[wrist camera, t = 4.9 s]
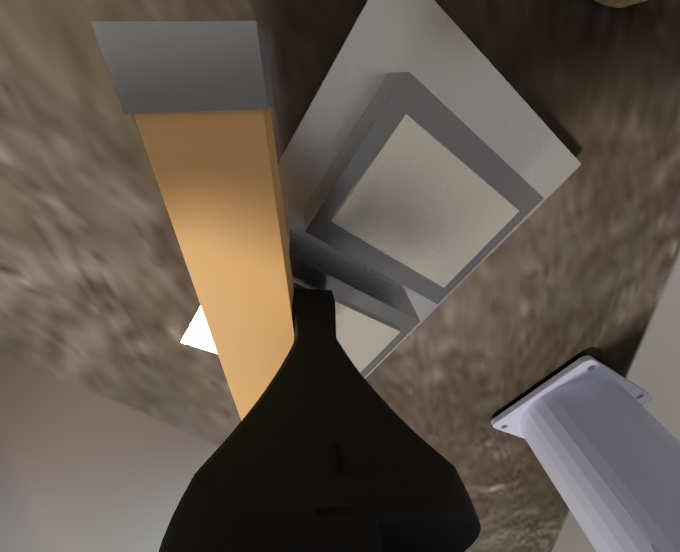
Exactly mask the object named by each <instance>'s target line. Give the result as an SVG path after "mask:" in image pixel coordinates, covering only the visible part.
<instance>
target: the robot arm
mask: <svg viewBox="0 0 680 552" xmlns="http://www.w3.org/2000/svg"><path fill="white" fill-rule="evenodd" d="M293 314H294V343H293V345H292V347H291V349H290V351H289V353H288V355H287V357H286V358H285V360H284V362H283V363H282V365H281V367H280V368H279V370H278V372H277V373H276V375H275V376H274V378H273V379H272V381H271V382H270V384H269V385H268V387H267V388H266V390H265V391H264V392H263V394H262V395H261V397H260V398H259V399H258V401H257V402H256V403H255V405H254V406H253V407H252V408H251V410H250V411H249V412H248V413H247V415H246V416H245V417H244V418H243V420H242V421H241V422H240V423H239V425H238V426H237V427H236V428H235V430H234V431H233V432H232V433H231V434H230V436H229V437H228V438H227V439H226V440H225V441H224V442H223V444H222V445H221V446H220V447H219V448H218V449H217V450H216V451H215V452H214V454H213V455H212V456H211V457H210V458H209V459H208V460H207V461H206V462H205V463H204V464H203V466H202V467H201V468H200V469H199V470H198V471H197V472H196V473H195V475H194V477H193V478H192V480H191V482H190V484H189V485H188V487H187V489H186V491H185V493H184V495H183V497H182V498H181V500H180V502H179V504H178V506H177V508H176V510H175V512H174V514H173V516H172V519H171V521H170V523H169V526H168V528H167V531H166V533H165V535H164V538H163V540H162V544H161V547H160V550H159V552H464V551H465V550H466V549H468V548H469V547H470V546H471V545H472V544H473V543H474V541H475V540H476V539H477V537H478V536H479V533H480V522H479V519H478V517H477V514H476V512H475V509H474V506H473V504H472V501H471V499H470V497H469V495H468V493H467V491H466V488H465V486H464V485H463V483H462V481H461V479H460V477H459V475H458V473H457V471H456V469H455V467H454V466H453V465H452V464H451V463H450V462H448V461H447V460H446V459H445V458H444V457H443V456H441V455H440V454H439V453H438V452H437V451H436V450H434V449H433V448H432V447H431V446H430V445H428V444H427V443H426V442H425V441H424V440H423V439H422V438H420V437H419V436H418V435H417V434H416V433H415V432H414V431H413V430H412V429H411V428H410V427H409V426H408V425H407V424H406V423H405V422H404V421H403V420H402V419H401V418H399V416H398V415H397V414H396V413H395V412H394V411H393V410H392V409H391V408H390V407H389V406H388V405H387V404H386V403H385V401H384V400H383V399H382V398H381V397H380V396H379V395H378V394H377V393H376V392H375V391H374V389H373V388H372V387H371V386H370V385H369V383H368V382H367V381H366V380H365V378H364V377H363V376H362V375H361V373H360V372H359V371H358V369H357V368H356V367H355V365H354V364H353V363H352V361H351V360H350V358H349V357H348V355H347V354H346V352H345V351H344V349H343V348H342V346H341V345H340V343H339V341H338V340H337V338H336V310H335V300H334V296H333V293H332V290H320V289H314V290H313V289H302V288H294V301H293ZM651 399H652V396H651V395H650V394H649V393H648V392H646V391H645V390H643V389H642V388H640V387H639V386H637V385H635V384H634V383H632V382H631V381H629V380H628V379H626V378H624V377H623V376H621V375H620V374H618V373H616V372H615V371H613V370H612V369H610V368H609V367H607V366H605V365H604V364H602V363H601V362H599V361H598V360H596V359H594V358H593V357H591V356H589V355H586V356H582V357H580V358H579V359H577V360H576V361H574V362H573V363H572V364H570V365H569V366H567V367H566V368H564V369H563V370H562V371H560V372H559V373H557V374H556V375H554V376H553V377H552V378H550V379H549V380H547V381H546V382H545V383H543V384H542V385H540V386H539V387H537V388H536V389H535V390H533V391H532V392H530V393H529V394H527V395H526V396H525V397H523V398H522V399H520V400H519V401H517V402H516V403H515V404H513V405H512V406H510V407H509V408H507V409H506V410H505V411H503V412H502V413H500V414H499V415H498V416H496V417H495V418H493V419H492V421H491V424H492V426H493V427H494V428H496V429H499V430H501V431H504V432H507V433H510V434H513V435H516V436H518V437H521V438H524V439H526V441H527V442H528V444H529V446H530V447H531V449H532V450H533V452H534V454H535V455H536V457H537V458H538V460H539V461H540V463H541V465H542V466H543V468H544V469H545V471H546V473H547V474H548V476H549V477H550V479H551V480H552V482H553V484H554V485H555V487H556V488H557V490H558V492H559V493H560V495H561V496H562V498H563V499H564V501H565V503H566V504H567V506H568V507H569V509H570V511H571V512H572V514H573V515H574V517H575V518H576V520H577V522H578V523H579V525H580V526H581V528H582V530H583V531H584V532H585V534H586V536H587V538H588V539H589V541H590V542H591V544H592V545H593V547H594V549H595V550H596V552H680V441H679V440H678V439H677V438H676V437H675V436H674V435H673V434H672V433H670V432H669V431H668V430H667V429H666V428H665V427H664V426H663V425H662V424H661V423H660V422H659V421H658V420H657V419H656V418H655V417H653V415H651V413H649V412H648V411H647V410H646V409H645V408H644V407H643V406H642V405H643V404H645V403H647V402H649V401H650V400H651Z"/></svg>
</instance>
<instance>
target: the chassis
mask: <svg viewBox="0 0 680 552" xmlns="http://www.w3.org/2000/svg"><path fill="white" fill-rule="evenodd" d="M580 165H581V163H580V162H579V161H578V160H577V159H576V158H575V157H574V155H573V154H572V153H571V152H570V151H569V150H568V149H567V148H566V146H565V145H564V144H563V143H562V142H561V141H560V140H559V139H558V138H557V136H556V135H555V134H554V133H553V132H552V131H551V130H550V129H549V128H548V126H547V125H546V124H545V123H544V122H543V121H542V120H541V119H540V117H539V116H538V115H537V114H536V113H535V112H534V111H533V110H532V109H531V107H530V106H529V105H528V104H527V103H526V102H525V101H524V100H523V99H522V97H521V96H520V95H519V94H518V93H517V92H516V91H515V90H514V88H513V87H512V86H511V85H510V84H509V83H508V82H507V81H506V80H505V78H504V77H503V76H502V75H501V74H500V73H499V72H498V71H497V69H496V68H495V67H494V66H493V65H492V64H491V63H490V62H489V61H488V59H487V58H486V57H485V56H484V55H483V54H482V53H481V52H480V51H479V49H478V48H477V47H476V46H475V45H474V44H473V43H472V42H471V40H470V39H469V38H468V37H467V36H466V35H465V34H464V33H463V32H462V30H461V29H460V28H459V27H458V26H457V25H456V24H455V23H454V22H453V20H452V19H451V18H450V17H449V16H448V15H447V14H446V13H445V11H444V10H443V9H442V8H441V7H440V6H439V5H438V4H437V3H436V1H435V0H366V2H365V4H364V6H363V8H362V9H361V11H360V13H359V15H358V17H357V19H356V20H355V22H354V24H353V26H352V28H351V30H350V31H349V33H348V35H347V37H346V39H345V41H344V42H343V44H342V46H341V48H340V50H339V52H338V53H337V55H336V57H335V59H334V61H333V63H332V64H331V66H330V68H329V70H328V72H327V73H326V75H325V77H324V79H323V81H322V83H321V84H320V86H319V88H318V90H317V92H316V94H315V95H314V97H313V99H312V101H311V103H310V105H309V106H308V108H307V110H306V112H305V114H304V116H303V117H302V119H301V121H300V123H299V125H298V127H297V128H296V130H295V132H294V134H293V136H292V138H291V139H290V141H289V143H288V145H287V147H286V149H285V150H284V152H283V154H282V156H281V158H280V160H279V161H278V169H279V177H280V185H281V193H282V201H283V209H284V217H285V224H286V232H287V240H288V248H289V256H290V264H291V272H292V279H293V287H294V288H302V289H313V290H314V289H320V290H332V293H333V296H334V300H335V310H336V338H337V340H338V341H339V343H340V345H341V346H342V348H343V349H344V351H345V352H346V354H347V355H348V357H349V358H350V360H351V361H352V363H353V364H354V365H355V367H356V368H357V369H358V371H359V372H360V373H361V375H362V376H363V377H364V378H366V377H367V376H368V375H369V374H370V373H371V372H372V371H373V370H374V369H375V368H376V367H377V366H378V365H379V364H380V363H381V362H382V361H383V360H384V359H385V358H386V357H387V356H388V355H389V354H390V353H391V352H392V351H394V350H395V349H396V348H397V347H398V346H399V345H400V344H401V343H402V342H403V341H404V340H405V339H406V338H407V337H408V336H409V335H410V334H411V333H412V332H413V331H414V330H415V329H416V328H417V327H418V326H419V325H420V324H421V323H422V322H423V321H424V320H425V319H426V318H427V317H428V316H429V315H430V314H431V313H432V312H433V311H434V310H435V309H436V308H437V307H438V306H439V305H440V304H441V303H442V302H443V301H444V300H445V299H446V298H447V297H448V296H449V295H450V294H451V293H452V292H453V291H454V290H455V289H456V288H457V287H458V286H459V285H460V284H461V283H462V282H463V281H464V280H465V279H466V278H467V277H468V276H469V275H470V274H471V273H472V272H473V271H474V270H475V269H476V268H477V267H478V266H479V265H480V264H481V263H482V262H483V261H484V260H485V259H486V258H487V257H488V256H489V255H490V254H491V253H492V252H493V251H494V250H495V249H496V248H497V247H498V246H499V245H500V244H501V243H502V242H503V241H504V240H505V239H506V238H507V237H508V236H509V235H510V234H511V233H512V232H513V231H514V230H515V229H517V228H518V227H519V226H520V225H521V224H522V223H523V222H524V221H525V220H526V219H527V218H528V217H529V216H530V215H531V214H532V213H533V212H534V211H535V210H536V209H537V208H538V207H539V206H540V205H541V204H542V203H543V202H544V201H545V200H546V199H547V198H548V197H549V196H550V195H551V194H552V193H553V192H554V191H555V190H556V189H557V188H558V187H559V186H560V185H561V184H562V183H563V182H564V181H565V180H566V179H567V178H568V177H569V176H570V175H571V174H572V173H573V172H574V171H575V170H576V169H577V168H578V167H579V166H580ZM181 343H184V344H187V345H190V346H194V347H197V348H200V349H203V350H206V351H209V352H212V353H215V354H218V353H217V350H216V347H215V344H214V341H213V339H212V336H211V333H210V330H209V327H208V324H207V322H206V319H205V316H204V313H203V310H202V307H201V304H200V306H199V308H198V310H197V311H196V313H195V315H194V317H193V319H192V321H191V322H190V324H189V326H188V328H187V330H186V332H185V333H184V335H183V338H182V340H181Z"/></svg>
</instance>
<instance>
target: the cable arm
mask: <svg viewBox="0 0 680 552" xmlns="http://www.w3.org/2000/svg"><path fill="white" fill-rule="evenodd" d="M91 24H92V27H93V30H94V32H95V35H96V38H97V40H98V43H99V46H100V49H101V51H102V54H103V57H104V60H105V62H106V65H107V68H108V71H109V73H110V76H111V79H112V81H113V84H114V87H115V90H116V92H117V95H118V98H119V101H120V103H121V106H122V109H123V111H124V114H129V113H133V114H134V117H135V120H136V122H137V125H138V128H139V131H140V134H141V137H142V139H143V142H144V145H145V148H146V151H147V154H148V157H149V159H150V162H151V165H152V168H153V171H154V174H155V176H156V179H157V182H158V185H159V188H160V191H161V193H162V196H163V199H164V202H165V205H166V208H167V211H168V213H169V216H170V219H171V222H172V225H173V228H174V230H175V233H176V236H177V239H178V242H179V245H180V248H181V250H182V253H183V256H184V259H185V262H186V265H187V267H188V270H189V273H190V276H191V279H192V282H193V285H194V287H195V290H196V293H197V296H198V299H199V302H200V304H201V307H202V310H203V313H204V316H205V319H206V322H207V324H208V327H209V330H210V333H211V336H212V339H213V341H214V344H215V347H216V350H217V353H218V356H219V359H220V361H221V364H222V367H223V370H224V373H225V376H226V378H227V381H228V384H229V387H230V390H231V393H232V395H233V398H234V401H235V404H236V407H237V410H238V413H239V415H240V418H241V421H242V420H243V418H244V417H245V416H246V415H247V413H248V412H249V411H250V410H251V408H252V407H253V406H254V405H255V403H256V402H257V401H258V399H259V398H260V397H261V395H262V394H263V392H264V391H265V390H266V388H267V387H268V385H269V384H270V382H271V381H272V379H273V378H274V376H275V375H276V373H277V372H278V370H279V368H280V367H281V365H282V363H283V362H284V360H285V358H286V357H287V355H288V353H289V351H290V349H291V347H292V345H293V343H294V314H293V301H294V287H293V279H292V272H291V264H290V256H289V248H288V240H287V232H286V224H285V217H284V209H283V201H282V193H281V185H280V177H279V169H278V162H277V154H276V146H275V138H274V130H273V122H272V115H271V107H270V106H271V105H272V104H273V103H274V92H273V84H272V76H271V67H270V59H269V51H268V42H267V35H266V34H265V32H264V31H263V30H262V28H261V27H260V26H259V24H258V23H257V21H136V22H91Z"/></svg>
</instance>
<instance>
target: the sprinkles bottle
mask: <svg viewBox="0 0 680 552" xmlns="http://www.w3.org/2000/svg"><path fill="white" fill-rule="evenodd" d="M594 1H596V2H598V3H600V4H603V5H604V6H610V7H614V8H623V7H626V6H629V5H632V4H638V3H642V2H645V1H647V0H594Z"/></svg>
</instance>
